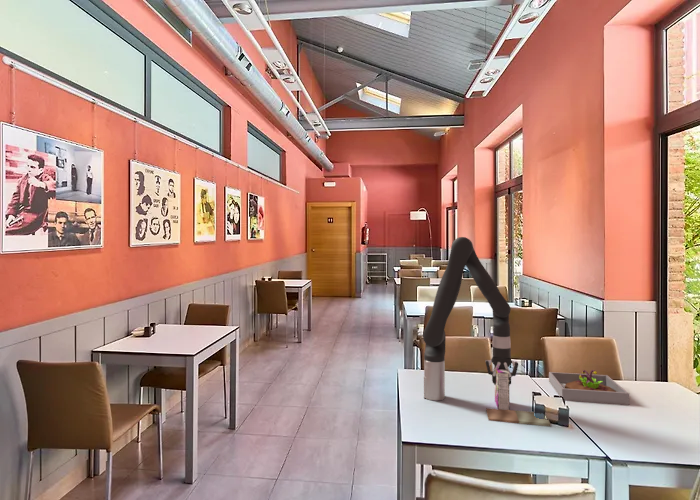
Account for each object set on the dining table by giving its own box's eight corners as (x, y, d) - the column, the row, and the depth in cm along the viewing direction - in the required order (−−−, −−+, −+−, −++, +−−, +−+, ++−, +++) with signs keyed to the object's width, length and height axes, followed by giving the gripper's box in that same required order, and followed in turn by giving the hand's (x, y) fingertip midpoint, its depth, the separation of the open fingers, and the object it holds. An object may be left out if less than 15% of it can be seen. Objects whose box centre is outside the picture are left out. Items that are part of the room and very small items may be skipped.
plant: (591, 402, 190) (591, 377, 190) (558, 388, 209) (558, 365, 209) (625, 397, 196) (625, 373, 196) (590, 384, 215) (589, 362, 215)
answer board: (488, 420, 169) (488, 416, 169) (486, 410, 180) (486, 406, 180) (550, 426, 164) (550, 421, 164) (544, 415, 174) (544, 410, 174)
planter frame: (562, 400, 192) (562, 389, 192) (548, 381, 218) (548, 371, 218) (629, 404, 185) (629, 393, 185) (607, 385, 211) (607, 375, 211)
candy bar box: (494, 401, 191) (493, 364, 191) (505, 401, 190) (505, 365, 190) (497, 410, 180) (497, 371, 180) (509, 411, 179) (509, 372, 179)
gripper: (485, 347, 183) (485, 386, 183) (520, 348, 179) (520, 388, 179) (483, 343, 190) (483, 380, 190) (517, 344, 187) (517, 383, 187)
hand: (501, 384), depth 185 cm, fingers closed on candy bar box, 5 cm apart
